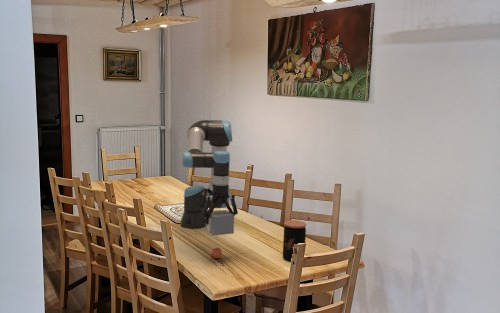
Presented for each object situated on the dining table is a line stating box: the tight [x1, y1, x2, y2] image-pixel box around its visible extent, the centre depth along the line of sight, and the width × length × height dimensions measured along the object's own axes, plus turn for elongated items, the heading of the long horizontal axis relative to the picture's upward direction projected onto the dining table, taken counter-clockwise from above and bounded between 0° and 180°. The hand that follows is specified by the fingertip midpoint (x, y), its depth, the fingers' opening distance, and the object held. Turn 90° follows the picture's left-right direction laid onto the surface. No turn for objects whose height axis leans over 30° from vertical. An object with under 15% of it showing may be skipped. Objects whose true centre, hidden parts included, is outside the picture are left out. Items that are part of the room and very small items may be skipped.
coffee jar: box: [282, 219, 307, 263], centre depth 232 cm, size 11×11×18 cm
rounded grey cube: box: [205, 209, 235, 236], centre depth 226 cm, size 10×10×9 cm
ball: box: [211, 247, 223, 259], centre depth 230 cm, size 5×5×5 cm
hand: (219, 229), depth 226 cm, fingers closed on rounded grey cube, 10 cm apart
